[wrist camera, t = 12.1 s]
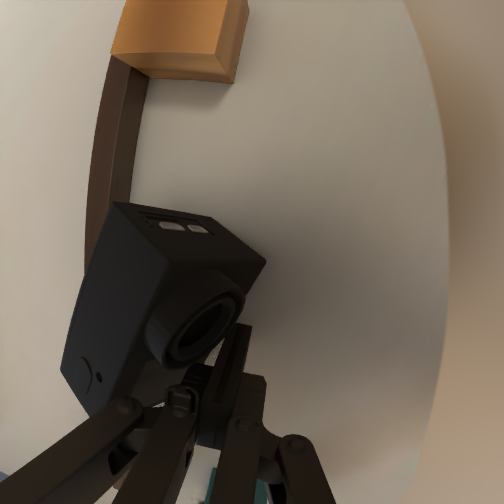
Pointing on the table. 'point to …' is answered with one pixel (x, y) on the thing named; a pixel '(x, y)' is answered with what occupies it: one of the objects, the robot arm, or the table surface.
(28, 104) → the table surface
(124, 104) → the rail
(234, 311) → the digital camera
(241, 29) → the oak block
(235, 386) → the robot arm
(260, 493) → the teal block
